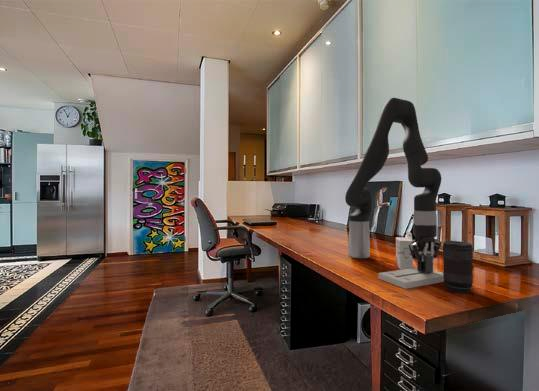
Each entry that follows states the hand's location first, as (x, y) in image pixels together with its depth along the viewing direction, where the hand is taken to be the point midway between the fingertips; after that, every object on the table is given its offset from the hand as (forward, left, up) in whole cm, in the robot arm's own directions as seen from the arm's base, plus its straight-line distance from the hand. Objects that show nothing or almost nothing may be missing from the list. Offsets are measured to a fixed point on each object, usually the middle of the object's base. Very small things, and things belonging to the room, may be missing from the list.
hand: (425, 270), depth 105 cm
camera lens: (+13, -1, -3) cm, 14 cm away
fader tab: (0, 0, 0) cm, 0 cm away
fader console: (0, -5, -3) cm, 6 cm away
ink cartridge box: (-14, +5, -3) cm, 15 cm away
